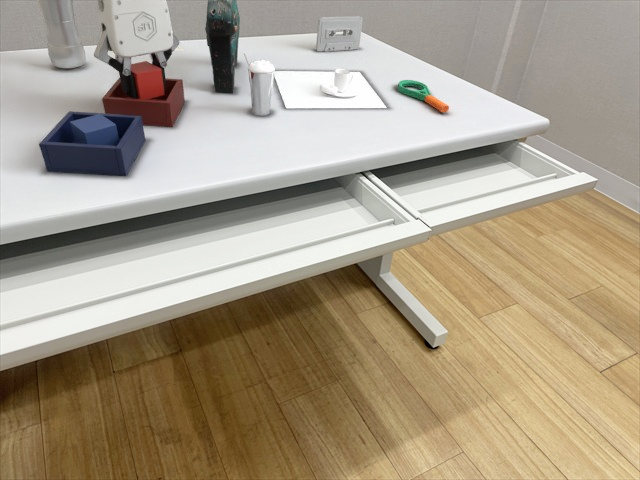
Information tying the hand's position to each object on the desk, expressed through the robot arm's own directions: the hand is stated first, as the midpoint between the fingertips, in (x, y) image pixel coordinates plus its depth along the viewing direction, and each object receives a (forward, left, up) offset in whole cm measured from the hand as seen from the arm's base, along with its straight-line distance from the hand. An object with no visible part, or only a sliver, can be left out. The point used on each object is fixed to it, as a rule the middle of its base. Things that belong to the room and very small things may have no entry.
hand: (145, 91), depth 80 cm
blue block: (-3, -16, -3) cm, 17 cm away
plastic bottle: (-20, +19, -4) cm, 28 cm away
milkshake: (+19, +3, -4) cm, 20 cm away
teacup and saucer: (+32, +17, -4) cm, 36 cm away
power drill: (+11, +19, -4) cm, 22 cm away
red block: (0, 0, 0) cm, 0 cm away
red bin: (0, 0, -4) cm, 4 cm away
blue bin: (-3, -16, -4) cm, 17 cm away
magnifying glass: (+52, +15, -4) cm, 54 cm away
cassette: (+36, +44, -4) cm, 57 cm away
